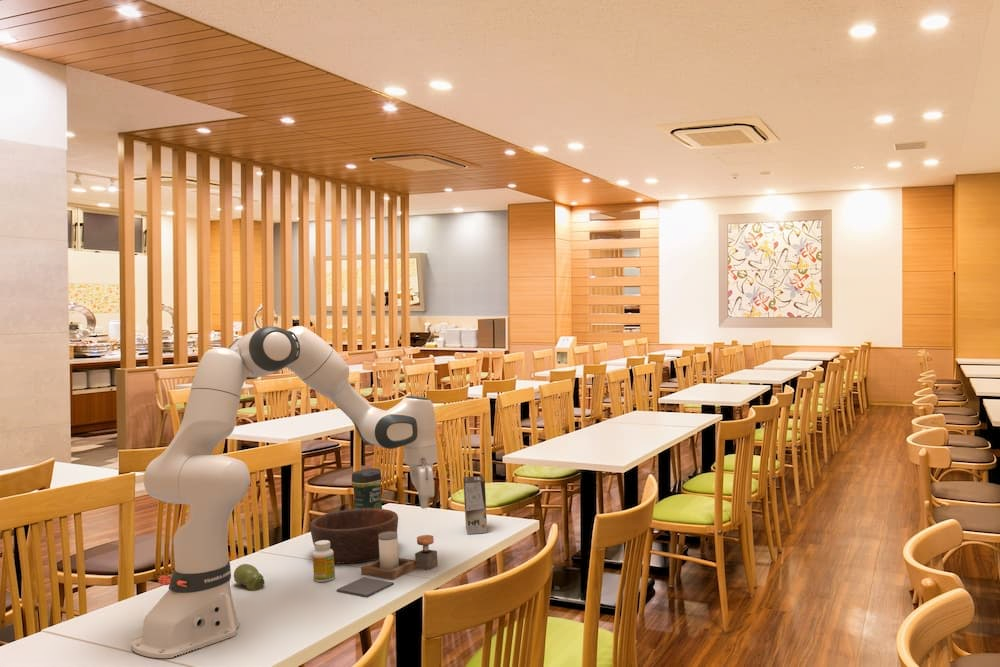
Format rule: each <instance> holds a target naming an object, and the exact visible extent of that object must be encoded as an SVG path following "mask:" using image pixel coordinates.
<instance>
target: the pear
mask: <svg viewBox="0 0 1000 667" xmlns="http://www.w3.org/2000/svg"><path fill="white" fill-rule="evenodd" d="M233 579H234V582H235V583H236V584H237V585H238V586H246V589H248V591H257V590H261V589H263V588H265V579H264V576H263V574H261V573H260V572H259V570H258V568H257V567H255V566H254V565H251V564H250V563H249V564H248V563H243V564H239V565H238V566H237V567H236V568H235V570H234V572H233Z"/></svg>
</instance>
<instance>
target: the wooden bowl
mask: <svg viewBox="0 0 1000 667" xmlns="http://www.w3.org/2000/svg"><path fill="white" fill-rule="evenodd" d="M398 523H399V515H398V513H397V512H395V511H393V510H390V509H386V508H385V509H384V508H382V509H378V508H359V509H354V508H352V509H351V508H350V509H343V510H337V511H331V512H328V513H325V514H322V515H319V516H317V517H314V518H313V519H312V520H310V523H309V530H310V534H311V540H312V544H313V546H314V548H315V542H317V541H321V540H328V541H330V549H332V550H333V553H334V564H357V563H358V564H359V563H364V562H370V561H373V560H376V559H377V560H378V559H380V557H379V537H378V534H380V533H382V532H388V531H393V532H397V533H398V527H399V526H398V525H399V524H398Z"/></svg>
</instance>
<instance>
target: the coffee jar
mask: <svg viewBox="0 0 1000 667" xmlns="http://www.w3.org/2000/svg"><path fill="white" fill-rule="evenodd" d="M382 481H383V479H382V472H381V470H380V469H379V468H374V467H370V468H365V469H360V470H357V471H354V472H352V474H351V485H352V488H353V509H359V508H378V509H383V505H382V503H383V502H382V497H381V485H382Z"/></svg>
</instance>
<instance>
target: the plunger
mask: <svg viewBox="0 0 1000 667" xmlns="http://www.w3.org/2000/svg"><path fill="white" fill-rule="evenodd" d="M416 543H417V545H419V546H422V550H423V554H428V553H429V550H430V545H433V544H434V543H435V540H434V535H432V534H431V535H430V534H423V535H419V536H417V537H416Z"/></svg>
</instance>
